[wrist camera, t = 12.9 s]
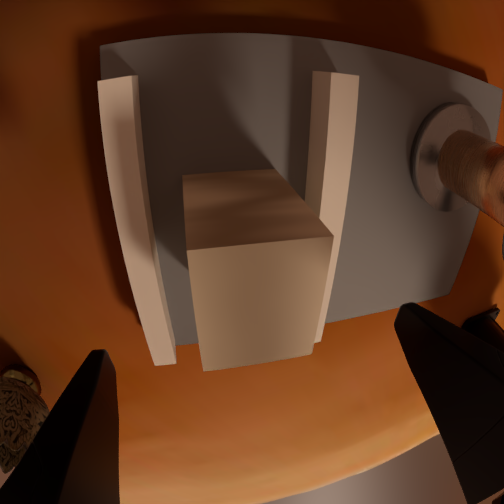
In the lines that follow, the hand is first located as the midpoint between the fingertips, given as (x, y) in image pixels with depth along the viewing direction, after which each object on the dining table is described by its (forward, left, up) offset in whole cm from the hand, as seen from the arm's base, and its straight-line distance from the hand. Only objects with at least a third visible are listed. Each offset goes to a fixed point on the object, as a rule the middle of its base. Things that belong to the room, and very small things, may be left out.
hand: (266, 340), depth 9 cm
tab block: (0, 0, -7) cm, 7 cm away
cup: (+17, +12, -8) cm, 22 cm away
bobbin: (-13, -3, -7) cm, 15 cm away
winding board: (-6, 0, -8) cm, 10 cm away
